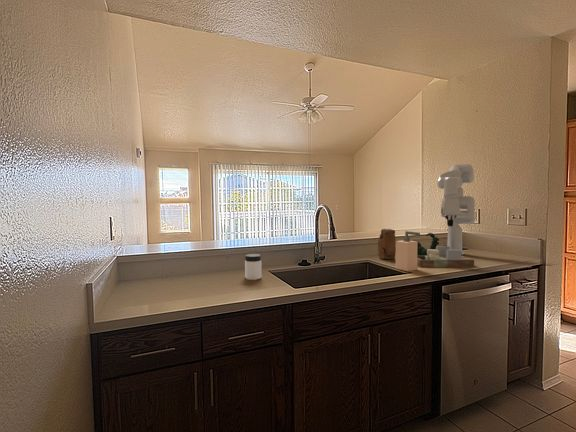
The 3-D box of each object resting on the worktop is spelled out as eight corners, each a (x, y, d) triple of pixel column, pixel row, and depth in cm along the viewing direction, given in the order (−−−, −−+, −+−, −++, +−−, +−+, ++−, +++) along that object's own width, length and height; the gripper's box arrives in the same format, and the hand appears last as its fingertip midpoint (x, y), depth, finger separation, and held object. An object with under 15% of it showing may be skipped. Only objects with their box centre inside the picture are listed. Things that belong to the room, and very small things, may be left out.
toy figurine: (439, 261, 214) (408, 253, 235) (442, 234, 212) (410, 227, 233) (431, 263, 209) (399, 254, 230) (434, 235, 207) (402, 228, 228)
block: (389, 257, 223) (390, 228, 222) (396, 259, 216) (397, 229, 215) (376, 258, 220) (376, 229, 218) (383, 260, 213) (383, 230, 211)
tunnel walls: (435, 255, 207) (436, 246, 206) (448, 255, 207) (448, 246, 206) (447, 260, 192) (447, 250, 191) (460, 260, 192) (461, 250, 191)
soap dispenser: (395, 268, 188) (395, 231, 187) (404, 266, 193) (405, 230, 191) (413, 272, 177) (414, 233, 176) (423, 270, 182) (424, 232, 181)
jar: (254, 275, 174) (253, 253, 174) (264, 277, 169) (264, 254, 168) (241, 278, 167) (241, 255, 167) (252, 280, 162) (252, 257, 161)
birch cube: (427, 257, 201) (427, 249, 201) (434, 257, 201) (435, 249, 201) (430, 258, 196) (430, 250, 196) (438, 258, 196) (439, 250, 196)
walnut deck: (410, 261, 207) (410, 255, 207) (460, 261, 207) (460, 255, 207) (419, 266, 192) (419, 260, 192) (474, 266, 192) (474, 259, 192)
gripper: (459, 196, 204) (458, 225, 206) (435, 197, 204) (435, 225, 206) (466, 196, 196) (465, 226, 198) (441, 197, 197) (440, 227, 198)
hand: (450, 226), depth 202 cm, fingers closed
